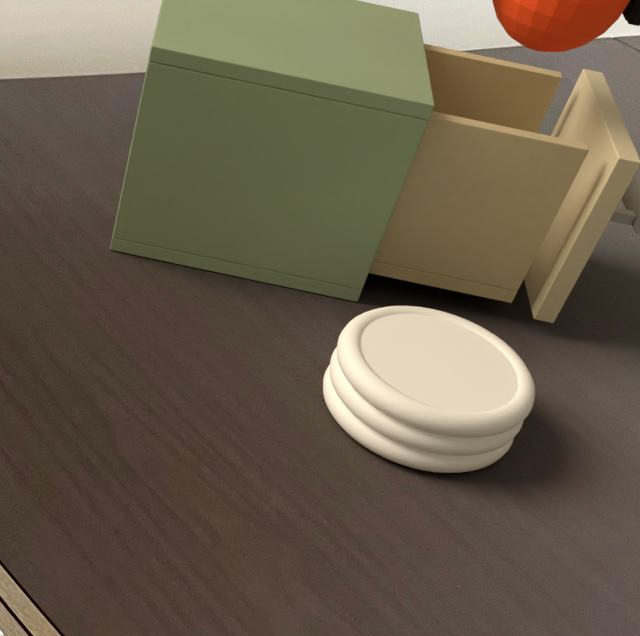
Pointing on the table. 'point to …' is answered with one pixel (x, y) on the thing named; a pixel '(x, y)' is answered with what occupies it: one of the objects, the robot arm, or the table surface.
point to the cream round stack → (427, 389)
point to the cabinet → (274, 139)
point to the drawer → (510, 183)
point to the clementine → (557, 21)
